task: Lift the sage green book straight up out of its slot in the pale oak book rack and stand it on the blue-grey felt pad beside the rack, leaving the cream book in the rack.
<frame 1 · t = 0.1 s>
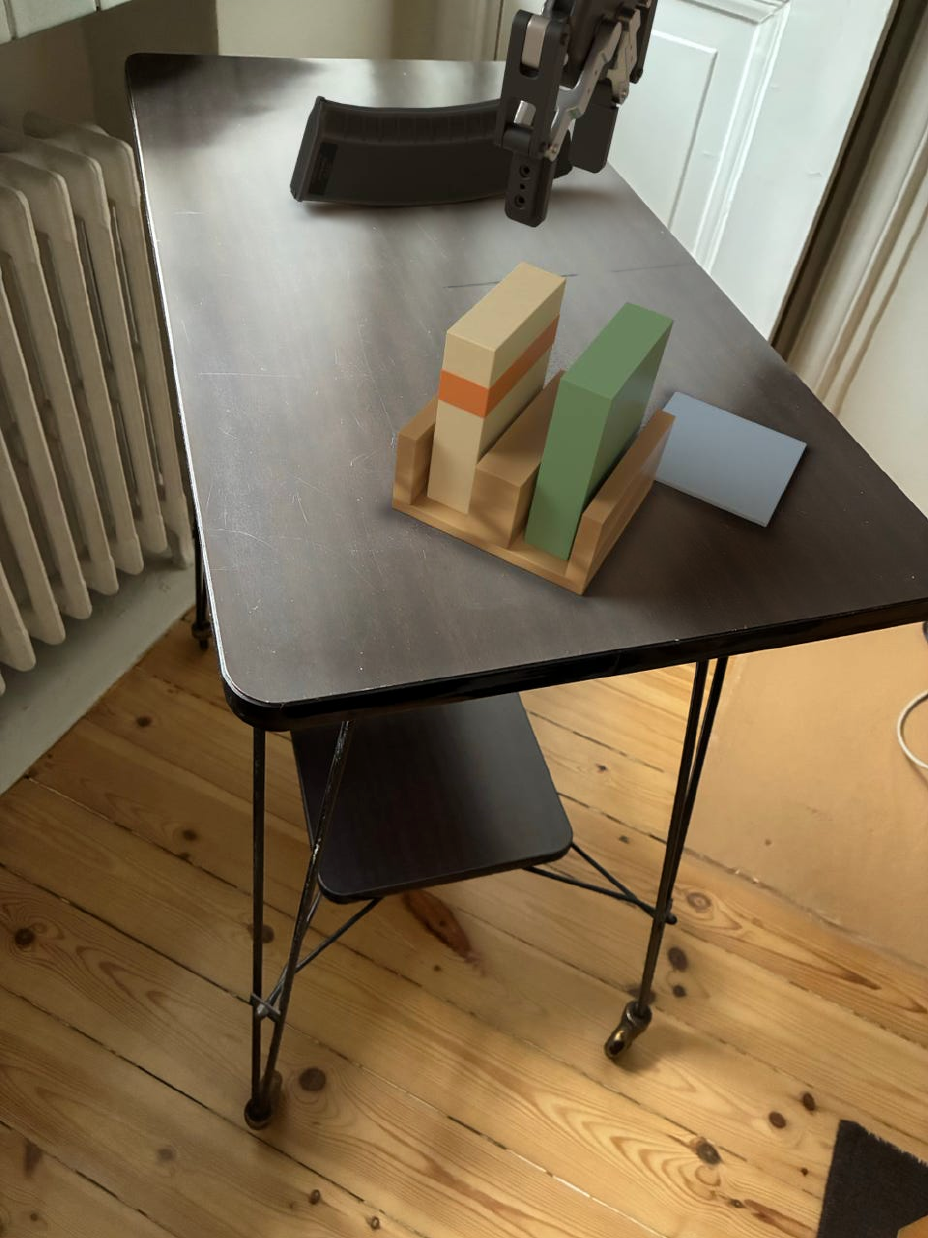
hand: (556, 192, 56), 24 cm above the table, tool pointing down, fingers open, 8 cm apart
green book: (575, 508, 73), point 1 cm above the table, touching book rack
felt pad: (717, 456, 81), on the table
cream book: (481, 466, 75), point 1 cm above the table, touching book rack
magazine: (433, 199, 105), on the table
book rack: (525, 497, 75), on the table
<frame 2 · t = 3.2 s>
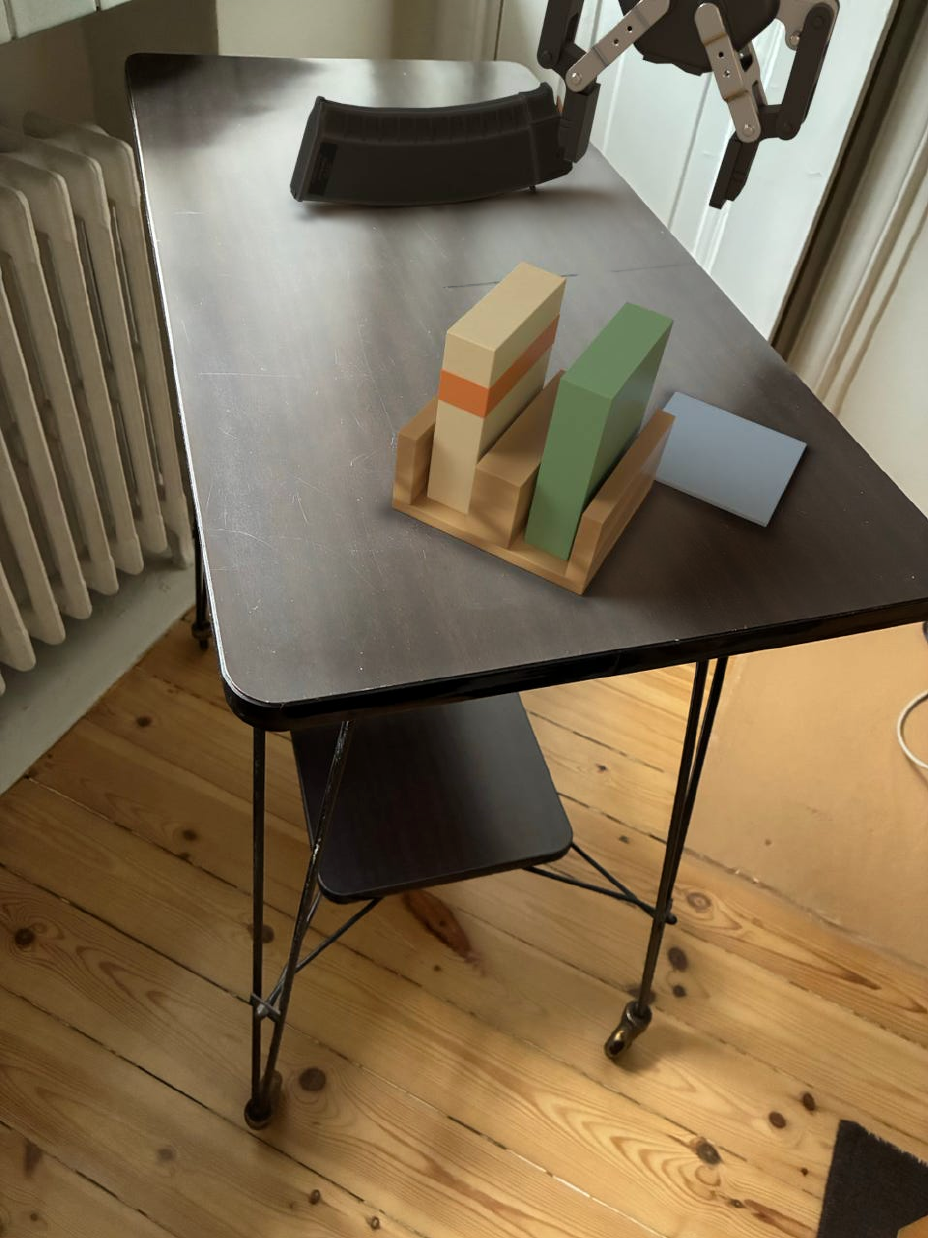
hand: (645, 179, 55), 26 cm above the table, tool pointing down, fingers open, 8 cm apart
nothing on the table moved.
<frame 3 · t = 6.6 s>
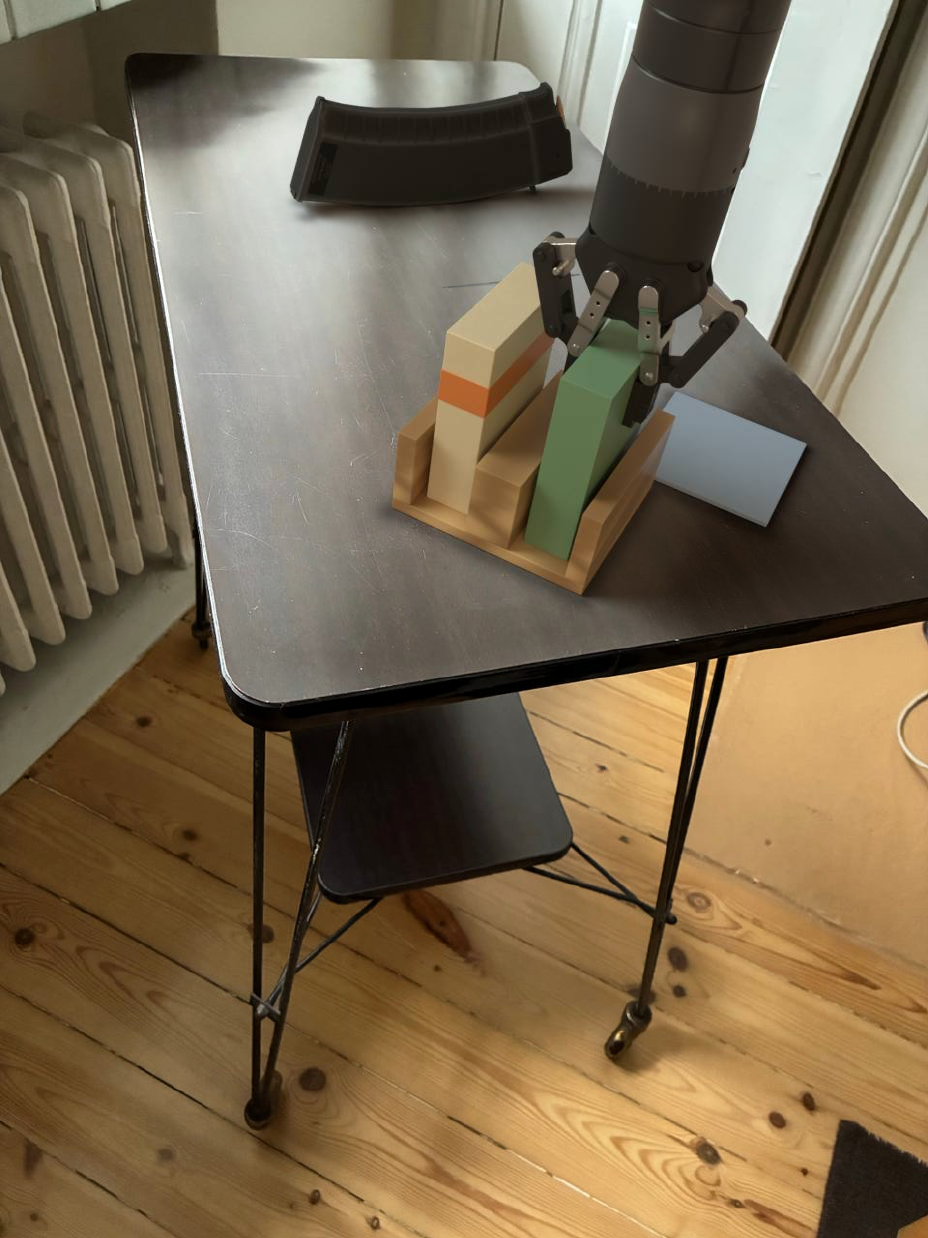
hand: (603, 408, 67), 10 cm above the table, tool pointing down, fingers closed on green book, 3 cm apart
green book: (575, 508, 73), point 1 cm above the table, touching book rack, gripper
everything else where it was.
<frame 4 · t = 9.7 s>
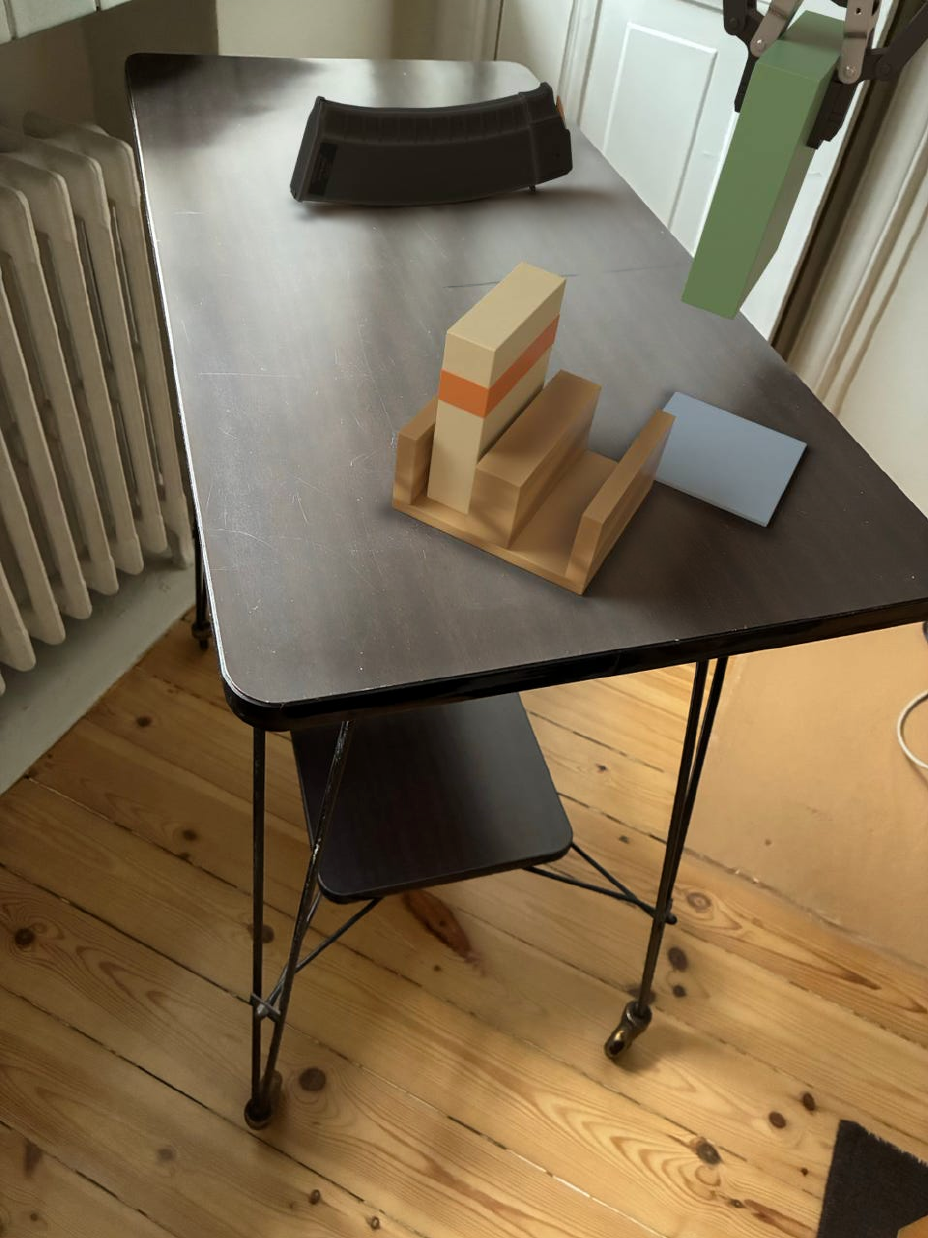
hand: (782, 131, 58), 27 cm above the table, tool pointing down, fingers closed on green book, 3 cm apart
green book: (731, 274, 65), point 18 cm above the table, touching gripper
everything else where it was.
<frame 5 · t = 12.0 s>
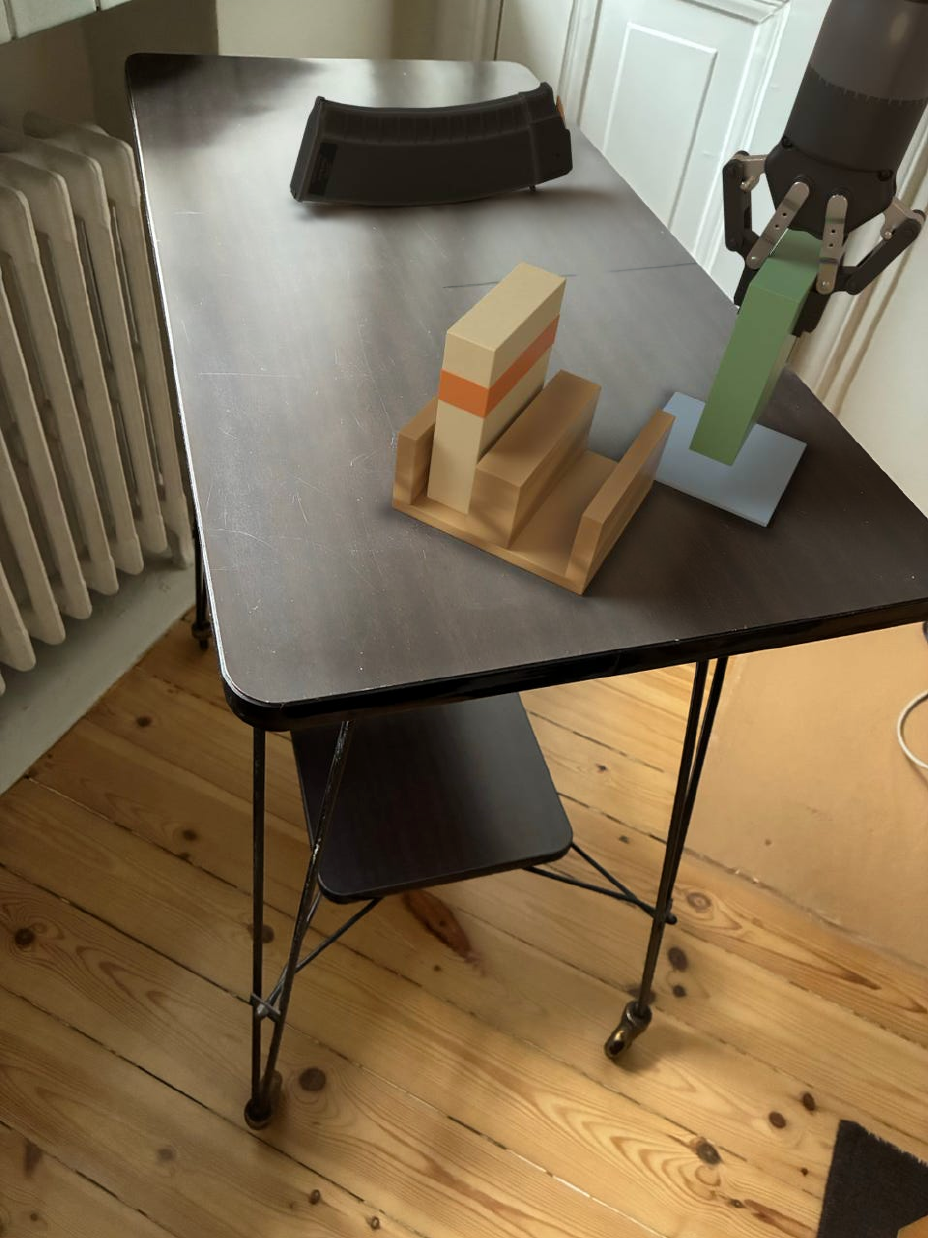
hand: (772, 320, 72), 13 cm above the table, tool pointing down, fingers closed on green book, 3 cm apart
green book: (731, 421, 78), point 4 cm above the table, touching gripper
everything else where it was.
when the fingers open (10 cm above the table, at t = 13.3 s): green book stays where it is, resting on felt pad.
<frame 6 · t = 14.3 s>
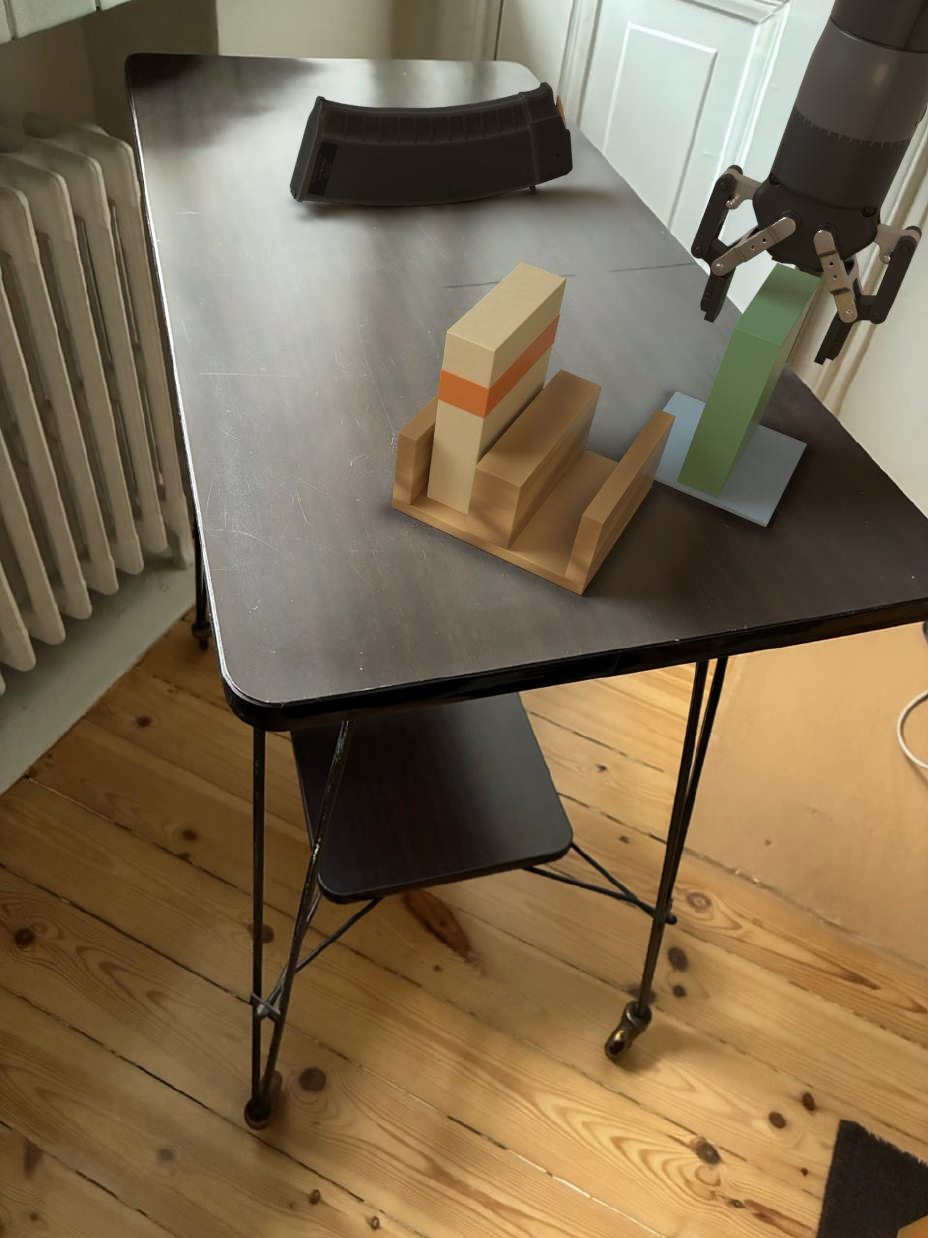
hand: (765, 337, 73), 11 cm above the table, tool pointing down, fingers open, 8 cm apart
green book: (718, 453, 81), resting on felt pad
everything else where it was.
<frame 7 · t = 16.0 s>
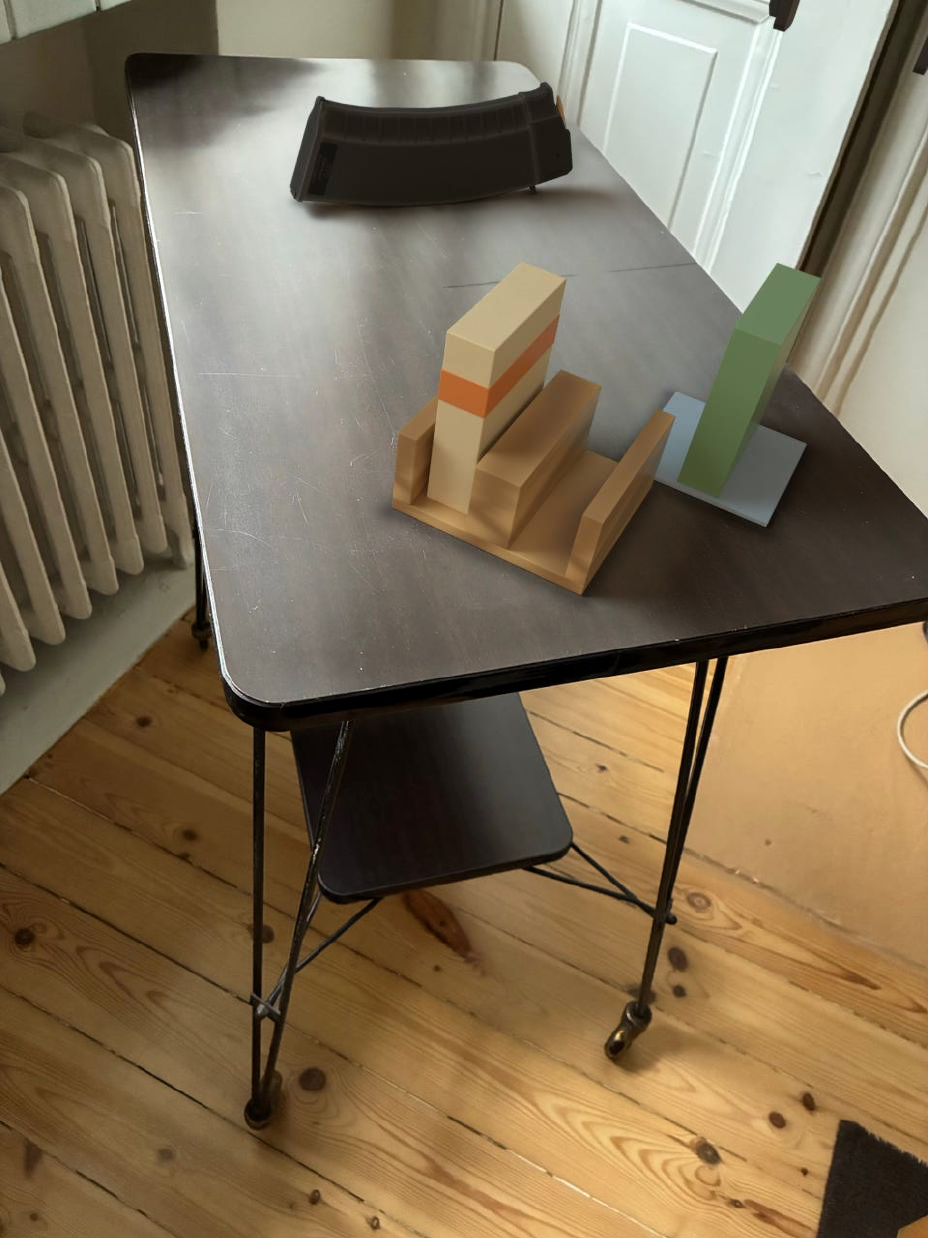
hand: (850, 48, 58), 31 cm above the table, tool pointing down, fingers open, 8 cm apart
nothing on the table moved.
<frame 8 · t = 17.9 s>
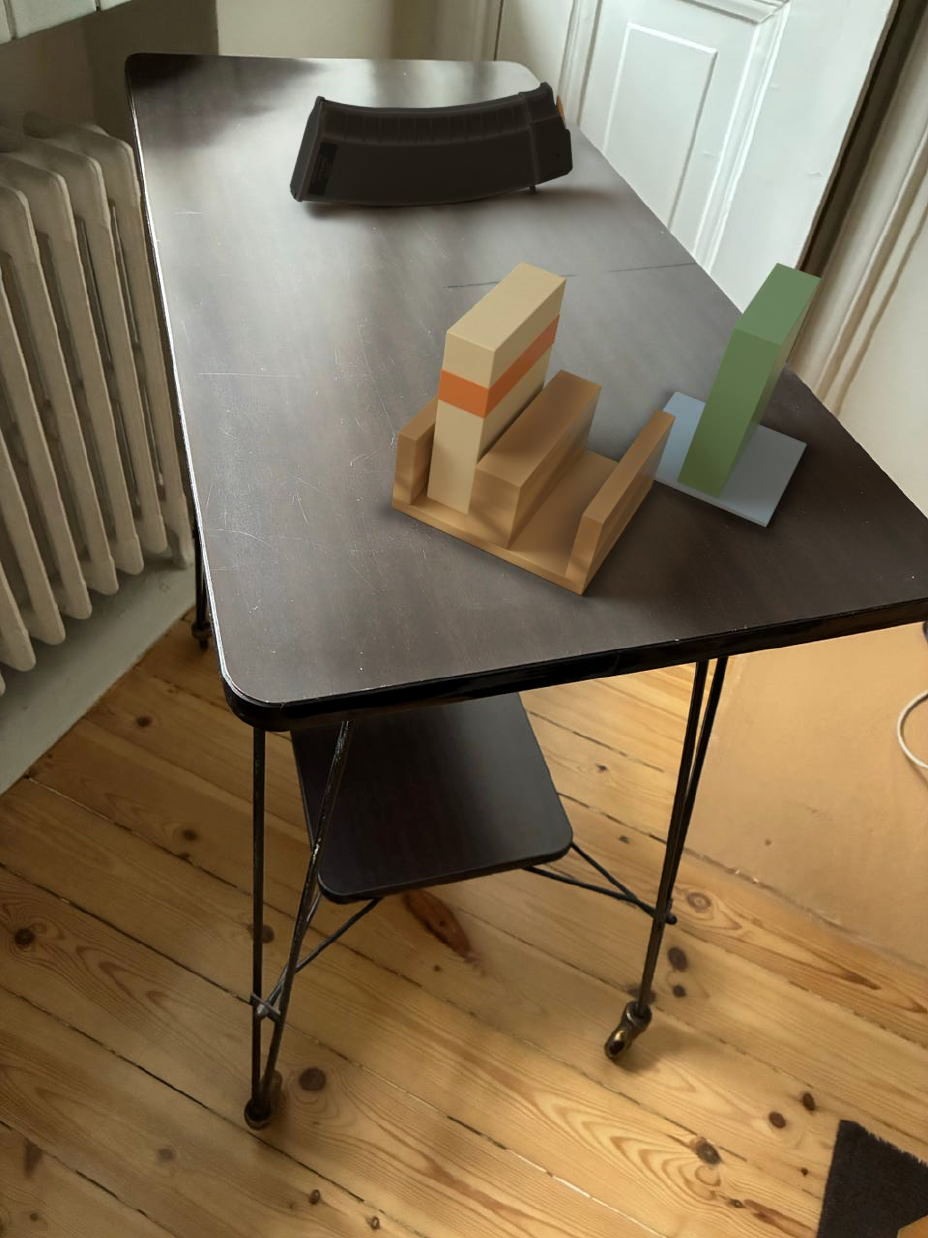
nothing on the table moved.
at the end: green book inside the target area (0.1 cm from its centre), resting on felt pad; green book touching felt pad; cream book moved 0.0 cm from its start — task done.
